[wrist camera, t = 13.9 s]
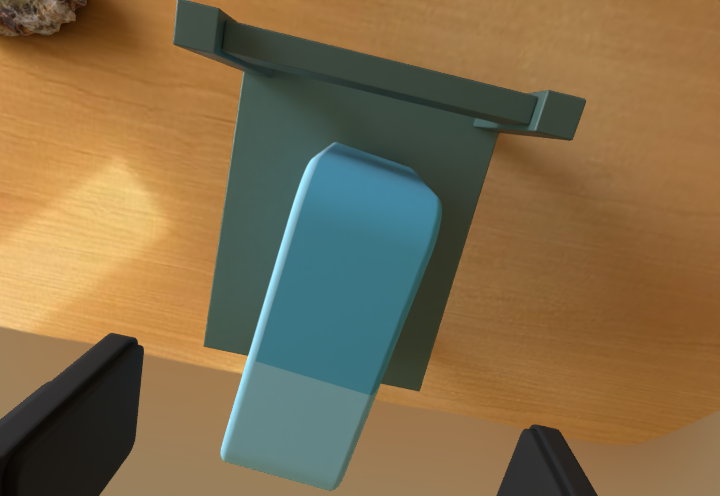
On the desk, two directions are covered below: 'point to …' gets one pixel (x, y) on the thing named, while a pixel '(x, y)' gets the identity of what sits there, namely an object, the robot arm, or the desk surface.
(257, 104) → the chair
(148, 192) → the desk surface
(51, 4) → the mineral rock
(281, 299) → the light blue rounded block
